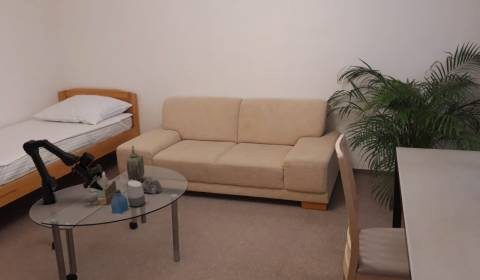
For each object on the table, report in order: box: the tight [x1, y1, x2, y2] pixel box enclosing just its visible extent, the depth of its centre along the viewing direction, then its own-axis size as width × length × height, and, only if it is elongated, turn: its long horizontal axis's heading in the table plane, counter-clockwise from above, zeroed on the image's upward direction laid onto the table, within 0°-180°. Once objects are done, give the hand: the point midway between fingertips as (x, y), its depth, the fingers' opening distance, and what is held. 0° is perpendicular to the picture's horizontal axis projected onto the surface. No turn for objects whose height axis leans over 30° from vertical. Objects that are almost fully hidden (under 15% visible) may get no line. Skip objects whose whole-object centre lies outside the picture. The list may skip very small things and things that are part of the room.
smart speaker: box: [127, 179, 146, 208], centre depth 245 cm, size 10×9×14 cm
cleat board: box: [91, 180, 117, 206], centre depth 254 cm, size 10×14×10 cm
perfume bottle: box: [110, 188, 129, 214], centre depth 238 cm, size 6×6×12 cm
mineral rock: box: [141, 176, 162, 195], centre depth 265 cm, size 13×11×10 cm
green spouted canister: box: [125, 145, 145, 181], centre depth 282 cm, size 14×9×25 cm, turn 6°
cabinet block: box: [95, 176, 109, 201], centre depth 254 cm, size 6×6×12 cm
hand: (104, 188), depth 254 cm, fingers closed on cabinet block, 5 cm apart
